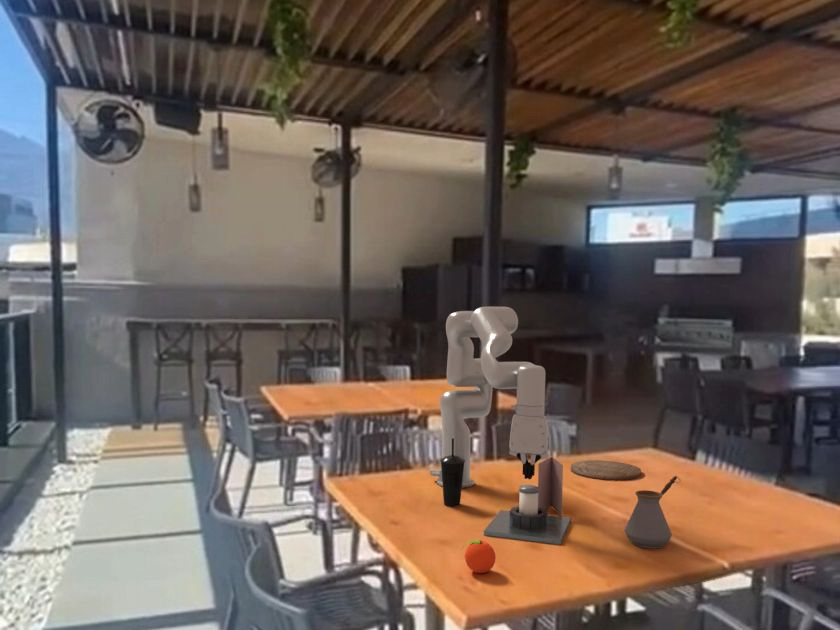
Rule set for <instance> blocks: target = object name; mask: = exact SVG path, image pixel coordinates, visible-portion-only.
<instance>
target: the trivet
mask: <svg viewBox="0 0 840 630" xmlns="http://www.w3.org/2000/svg"><path fill="white" fill-rule="evenodd" d="M570 472H571V473H573V475H574V474H575V475H576V476H578V477H583V478H587V479H592V480H598V479H599V481H600V480H601V481H610V480H615V481H617V482H618V480H622V481H623V480H624V481H632V480H636V479H635V478H637V479H639V478H641V477H642V469H641V468H640V467H638V466H636V465H633V464H629V463H626V462H619V461H611V460H599V459H596V460H593V459H592V460H580V461H576V462H572V463H571V464H570ZM638 477H639V478H638ZM631 479H632V480H631ZM615 481H614V482H615Z"/></svg>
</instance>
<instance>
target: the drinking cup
mask: <svg viewBox="0 0 840 630" xmlns="http://www.w3.org/2000/svg"><path fill="white" fill-rule="evenodd" d="M439 462H440V469H441V470H442V484H443V486H442V496H443V505H444V506H446V507H450V508H451V507H453V508H454V507H456V508H457V507H460V505H461V497H462V489H463V488H462V480H463V470H464V462H465V459H463V458H461V457H459V456H456V455H454V439H453V438H452V455H449V456H445V457H443V458H442V457H441V458H440V459H439Z"/></svg>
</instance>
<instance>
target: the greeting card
mask: <svg viewBox="0 0 840 630" xmlns="http://www.w3.org/2000/svg"><path fill="white" fill-rule="evenodd" d="M537 465H538V467H537V468H538V470H537V471H538V474H537V475H538V477H537V480H538V481H537V487H539V492H538V507H539V508H543V509H545V510H546V511H547V509H549V508H550V507H551V508H552V507H553V508H554V509H555V510H554V509H553V508H552V509H553V510H554V511H555V512H556V513H557V514H558V516H559V517H563V485H564V484H563V479H564V477H563V475H564V474H563V473H564V472H563V471H564V465H563V464H562V463H561V462H560V461H558V460H557V459H556V458H554V456H549V457H548V458H546V459H545V460H543V461H541V462H538V464H537Z"/></svg>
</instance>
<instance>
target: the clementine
mask: <svg viewBox="0 0 840 630" xmlns="http://www.w3.org/2000/svg"><path fill="white" fill-rule="evenodd" d="M467 544H469V545H468V546H467V547H466V550H465V554H464V559H465V564H466V566H467V567H468V568H469V569H470V571H472V572H474V573H476V574H485V573H487V572H489V571H490V570H492V569H493V567H494V566H495V563H496V559H497V557H496V556H497V555H496V552H495V550H494V548H493V545H491V544H490V543H488V542H487V541H483V540H471V541H468V542H466V543H465V545H467ZM463 549H464V546H462V548H461V551H462V550H463Z"/></svg>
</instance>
